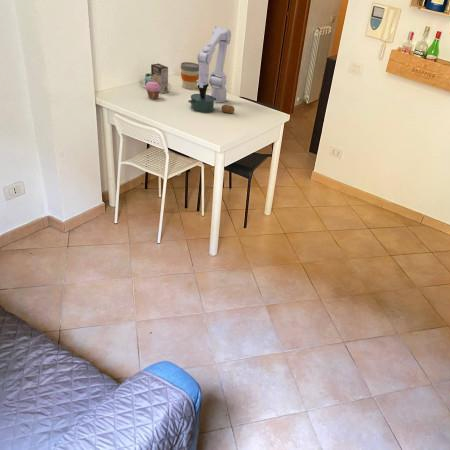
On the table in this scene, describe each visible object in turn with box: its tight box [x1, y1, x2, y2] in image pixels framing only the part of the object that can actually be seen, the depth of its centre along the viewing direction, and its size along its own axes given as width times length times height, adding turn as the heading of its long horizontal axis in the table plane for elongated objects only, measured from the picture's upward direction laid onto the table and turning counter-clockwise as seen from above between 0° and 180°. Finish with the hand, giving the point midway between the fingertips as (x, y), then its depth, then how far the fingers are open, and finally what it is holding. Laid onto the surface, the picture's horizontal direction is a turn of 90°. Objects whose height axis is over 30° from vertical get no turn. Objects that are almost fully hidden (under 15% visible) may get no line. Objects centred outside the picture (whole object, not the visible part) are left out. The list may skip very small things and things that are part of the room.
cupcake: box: [145, 81, 161, 100], centre depth 264 cm, size 9×9×10 cm
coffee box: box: [150, 63, 169, 94], centre depth 275 cm, size 9×6×16 cm
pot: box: [187, 97, 216, 113], centre depth 263 cm, size 13×19×6 cm
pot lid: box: [190, 93, 215, 102], centre depth 260 cm, size 14×14×5 cm
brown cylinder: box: [220, 104, 236, 114], centre depth 265 cm, size 8×5×5 cm, turn 91°
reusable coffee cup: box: [180, 61, 199, 90], centre depth 293 cm, size 13×13×15 cm
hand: (202, 96), depth 261 cm, fingers closed on pot lid, 2 cm apart
